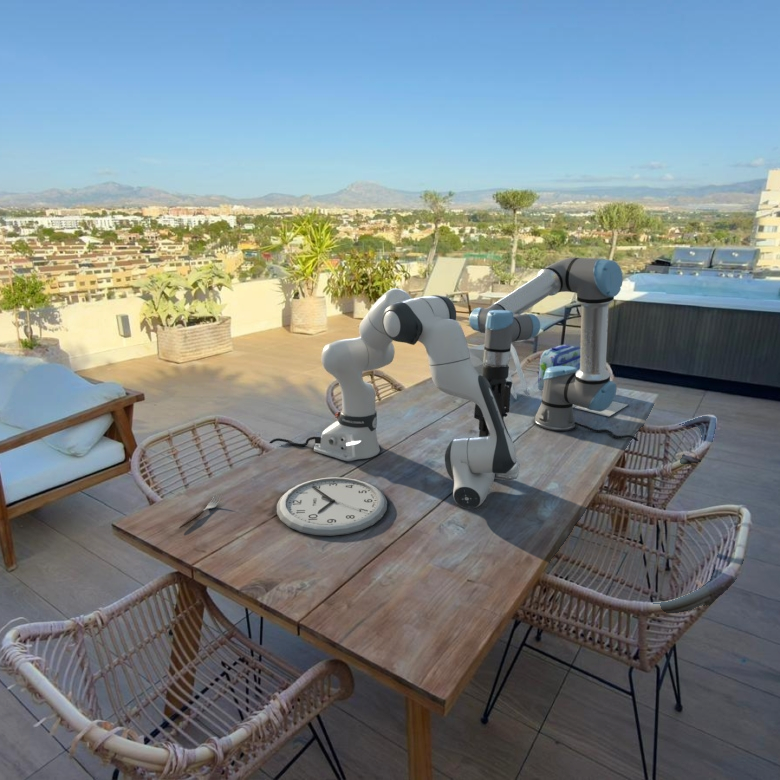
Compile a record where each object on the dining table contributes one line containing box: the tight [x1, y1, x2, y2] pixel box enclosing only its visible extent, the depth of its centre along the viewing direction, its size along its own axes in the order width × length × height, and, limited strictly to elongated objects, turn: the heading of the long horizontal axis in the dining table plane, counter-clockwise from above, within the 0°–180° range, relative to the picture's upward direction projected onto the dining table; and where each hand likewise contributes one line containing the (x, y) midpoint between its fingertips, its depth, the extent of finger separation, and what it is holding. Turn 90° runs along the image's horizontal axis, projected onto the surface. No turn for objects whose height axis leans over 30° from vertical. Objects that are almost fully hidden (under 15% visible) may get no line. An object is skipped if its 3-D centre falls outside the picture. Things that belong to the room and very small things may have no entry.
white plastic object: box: [468, 343, 531, 400], centre depth 245 cm, size 37×45×31 cm
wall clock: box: [276, 476, 388, 537], centre depth 142 cm, size 30×2×30 cm
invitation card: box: [573, 400, 629, 418], centre depth 226 cm, size 21×1×15 cm
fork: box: [178, 493, 223, 529], centre depth 137 cm, size 3×16×2 cm, turn 160°
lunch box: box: [537, 344, 581, 391], centre depth 246 cm, size 26×11×21 cm, turn 134°
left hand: (489, 454), depth 162 cm, fingers closed on jar, 5 cm apart
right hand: (490, 437), depth 159 cm, fingers closed on lid, 5 cm apart
